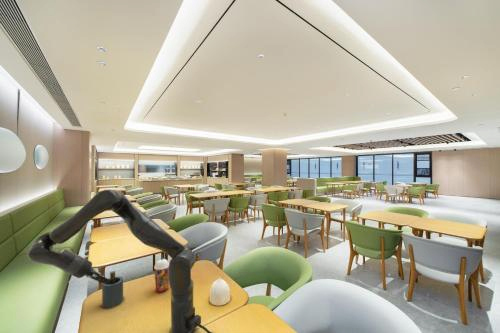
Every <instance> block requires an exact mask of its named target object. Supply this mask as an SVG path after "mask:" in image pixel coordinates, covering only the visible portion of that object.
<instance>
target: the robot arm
mask: <svg viewBox="0 0 500 333" xmlns="http://www.w3.org/2000/svg"><path fill="white" fill-rule="evenodd" d="M104 212H113V213H114V214H116V215H117V216H118V217H120V218H121V219H122V220H123V221H124V223H125V224H126V226H127V228H128V230H129V231H130V233H131V234H132V235H133V236H134V237H135V238H136V239H137V240H138V241H139V242H141V243H142V244H143V245H144V246H148V247H150V248H153V249H156V250H159V251H162V252H164V253H165V254H166V255H167V256H168V257H170V258H171V259H170V260H169V288H170V333H193V332H194V331H195V330H196V329H197V327H198V328H201V329H202V330H203V331H205V332H206V333H213V332H212V331H210V330H209V329H208V328H207V327H206V326H204V325H202V316H201V315H199V314H196V307H195V306H194V287H195V286H194V280H193V279H192V269H193V267H194V265H195V264H196V259H197V257H196V255H195V252H193V251H192V249H190V248H189V247H187V246H186V245H184V244H183V243H182V242H180V241H178V240H177V239H175V238H174V237H173V236H172V235H171V234H169V232H167V231H166V230H164V228H162V227H161V226H160V225H159V224H158V223H156V221H154V220H153V219H152V218H151V217H149V216H148V215H147V214H146V213H144V211H142V210H141V209H139V208H137V207H136V206H135V204H133V202H131V201H130V200H129V198H128V197H127V196H126V195H125V194H124V193H123V192H121V191H120V190H117V189H111V188H110V189H109V188H108V189H107V188H106V189H102V190H100V191H98V192H97V193H96V194H94V196H93V197H92V198H91V199H89V201H88V202H86V203H85V204H84V205H83V206H81V208H80V209H79V210H78V211H76V213H74V214H73V215H71V216H70V217H69V218H68V219H66V220H64V221H63V222H62V223H60V224H59V225H58V226H56V227H55V228H53V229H52V230H49V231H47V232H44V233H43V234H41V235H40V236H38V237H37V238H35V239H34V241H33V242H32V244H31V245H30V247H29V250H28V252H27V258H28V259H29V260H30V261H31V262H33V263H35V264H41V265H47V266H53V267H55V268H57V269H60V270H61V271H63V272H64V273H67V274H68V275H71V276H73V277H75V278H77V279H81V278H83V277H86V278H88V279H91V280H93V281H97V282H98V283H100V284H102V283H104V284H106V285H107V284H108V283H109V282H110V280H109V278H107V277H106V276H105V275H103V274H102V272H99V271H98V270H97V269H95V268H94V267H92V266H93V262H92V261H91V260H89V259H87V258H85V257H83V256H81V255H79V254H76V253H74V252H72V251H70V250H69V249H66V248H61V249H59V250H57V251H54V247H55V246H56V245H61V244H64V243H67V241H69V240H71V239H72V238H74V237H75V236H76V235H78V234H79V233H80V232H81V231H82V230H83V229H84V228H85V227H86V226H87V224H88V223H89V222H90V221H91V220H92V219H94V218H96V217H97V216H99V215H100V214H102V213H104Z"/></svg>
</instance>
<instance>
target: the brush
mask: <svg viewBox="0 0 500 333" xmlns="http://www.w3.org/2000/svg"><path fill="white" fill-rule="evenodd" d="M115 277H116V270H112V271H110V273H109V278H110V284H115Z"/></svg>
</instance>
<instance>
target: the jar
mask: <svg viewBox="0 0 500 333" xmlns="http://www.w3.org/2000/svg"><path fill="white" fill-rule="evenodd" d="M108 279H109V280H110V277H109V278H108ZM101 290H102V291H101V294H102V295H101V302H102V303H101V305H102V308H104V309H111V308H114V307H117V306H119V305H120V304H122V303H123V301H124V277H122V276H115V284H110V282H109V283H108V284H107V285H106V284H104V283H101Z"/></svg>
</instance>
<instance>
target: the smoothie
mask: <svg viewBox="0 0 500 333" xmlns="http://www.w3.org/2000/svg"><path fill="white" fill-rule="evenodd" d="M169 263H170V261H169V260H168V259H166V258H164V254H161V258H159V259H158V260H157V261H156V263H155V264H154V267H153V268H154V269H153V270H154V282H155V283H154V284H155V291H156V292H157V293H165V292H166V291H167V290H168V288H169V287H170V285H169Z"/></svg>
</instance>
